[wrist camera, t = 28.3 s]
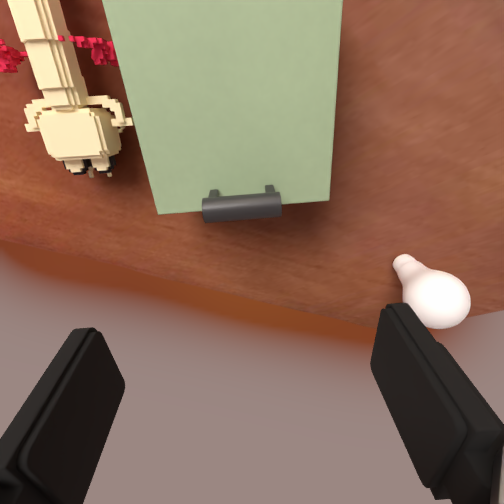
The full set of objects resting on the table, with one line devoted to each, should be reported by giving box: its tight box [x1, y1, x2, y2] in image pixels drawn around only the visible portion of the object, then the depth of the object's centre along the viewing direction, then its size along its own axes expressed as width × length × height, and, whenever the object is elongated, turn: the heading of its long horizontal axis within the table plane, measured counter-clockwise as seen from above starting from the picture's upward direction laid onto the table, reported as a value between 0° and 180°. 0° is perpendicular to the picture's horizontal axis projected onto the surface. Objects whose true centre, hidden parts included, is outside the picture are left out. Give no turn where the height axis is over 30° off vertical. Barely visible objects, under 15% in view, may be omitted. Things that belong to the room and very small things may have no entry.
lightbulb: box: [393, 254, 471, 329], centre depth 33 cm, size 6×6×11 cm
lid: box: [102, 0, 343, 223], centre depth 19 cm, size 16×15×5 cm
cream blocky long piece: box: [0, 0, 135, 178], centre depth 21 cm, size 10×9×25 cm
